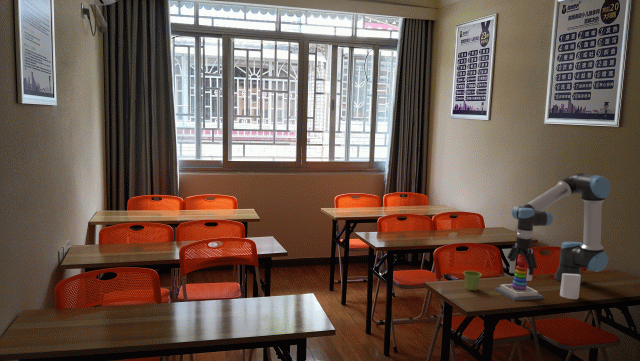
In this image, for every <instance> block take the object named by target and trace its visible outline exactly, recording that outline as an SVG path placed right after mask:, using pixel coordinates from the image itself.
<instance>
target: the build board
mask: <svg viewBox="0 0 640 361" xmlns="http://www.w3.org/2000/svg"><path fill="white" fill-rule="evenodd" d="M512 284H513V283H503V284H499V286H498V287H494V291H495V292H497V293H499V294H501V295H502V296H505V297H507V298H508V299H510V300H512V301H514V302H515V301H528V300H529V301H530V300H531V301H532V300H541V299H544V295H542V294H540V293H539V291H538V290H535V289H533V288H532V287H529V286H527V285H526V287H527V288H526V290H527V291H526V292H516V291H514V290H512V289H511V287H512Z"/></svg>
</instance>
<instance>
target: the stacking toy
mask: <svg viewBox="0 0 640 361" xmlns="http://www.w3.org/2000/svg"><path fill="white" fill-rule="evenodd" d="M516 259H517V260H516V264H517V265H515V273H513V274H514V277H513V280H512V283H511V284H512V287H511V289H512V290H514V291H516V292H526V291H527V290H526V288H527V287H528V286H527V285H528V283H527V282H528V281H526V279H527V267H526V266H527V265H528V264H527V262H526V259H525V257H524V256H518V257H517V258H516ZM526 286H527V287H526Z"/></svg>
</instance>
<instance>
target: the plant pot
mask: <svg viewBox="0 0 640 361" xmlns="http://www.w3.org/2000/svg"><path fill="white" fill-rule="evenodd" d="M463 274H464V275H463V276H464V284H465V289H466V290H468V291H474V292H475V291H478V287H479V284H480V279H481V277H482V276H483V275H482V273H481V272H478V271H475V270H466V271H463Z"/></svg>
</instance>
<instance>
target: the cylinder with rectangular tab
mask: <svg viewBox="0 0 640 361" xmlns="http://www.w3.org/2000/svg"><path fill="white" fill-rule="evenodd" d="M580 279H581V275H579V274H567V273H562V281H560V289H559V290H560V291H559V296H560V297H562V298H565V299H568V300H578V299H579V297H580V296H579V295H580V288H581V287H580V286H581V284H580Z"/></svg>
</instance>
